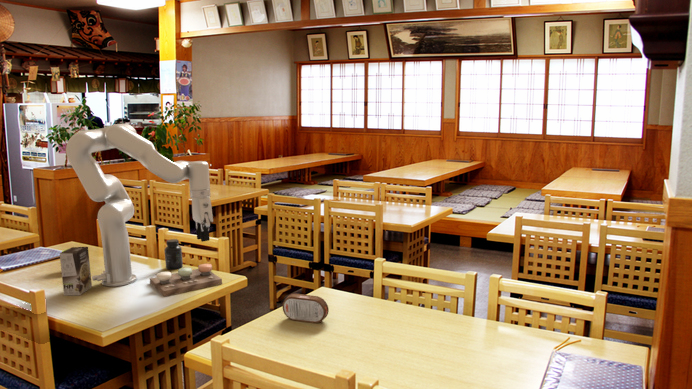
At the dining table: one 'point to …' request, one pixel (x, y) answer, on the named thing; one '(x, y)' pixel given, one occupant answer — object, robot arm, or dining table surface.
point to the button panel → (186, 283)
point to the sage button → (185, 273)
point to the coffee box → (75, 270)
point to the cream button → (164, 277)
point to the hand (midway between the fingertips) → (203, 239)
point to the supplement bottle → (173, 255)
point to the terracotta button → (205, 269)
